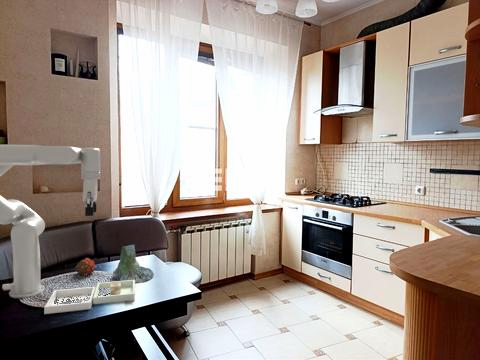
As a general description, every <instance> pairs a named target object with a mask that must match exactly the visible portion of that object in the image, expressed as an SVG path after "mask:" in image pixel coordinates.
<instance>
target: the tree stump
mask: <svg viewBox="0 0 480 360" xmlns="http://www.w3.org/2000/svg"><path fill="white" fill-rule="evenodd" d="M135 248H136V247H135V244H131V245H130V244H129V245H127V246H126V245H125V246H122V247H121V251H120V256H119V257H120V259H119V262H118V265H117V267H116V268H115V269H114V270H113V272H112V276H113V277H114V278H115V279H116V281H118V280H119V281H126V280H135V284H139V283H141V284H142V283H144V282H147V281H151V279H153V278H154V276H155V274H154V272H153V270H152V269H151V268H149V267H144V266H141V265H140V263H139V262H138V261H137V258H136V249H135Z"/></svg>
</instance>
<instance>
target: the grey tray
mask: <svg viewBox="0 0 480 360" xmlns="http://www.w3.org/2000/svg"><path fill="white" fill-rule="evenodd" d="M96 287H97V286H88V287H86V286H85V287H74V288H67V289H66V288H65V289H64V288H63V289H54V290H53V292H52V294H51V296H50V297H49V299H48V300H47V302H46V304H45V305H44V309H43V310H44V311H43V312H44V313H43V314H44V315H47V314H48V315H49V314H57V313H58V314H59V313H66V312H77V311H84V310H91V309H92V305H93V297H94V293H95V290H96ZM90 293H91V296H88V295H84V294H90ZM81 294H83V295H84V296H83V295H81ZM72 295H73V298H74V299H75V301H76V299H77V298H78V299H79V300H80V299H82V300H83V299H84V298H85V299H86V298H87V297H88V298H89V297H90V299H89V300H88V301H85V302H84V300H83V301H82V302H81V303H71V304H59V303H62V302H61V301H63V300H62V299H64V301H63V302H66V300H67V299H68V298H69V297H70V296H72ZM77 295H78V296H79V295H80V296H79V297H78V296H77ZM67 296H69V297H67ZM74 296H75V297H74ZM86 296H87V297H86ZM56 297H58V298H59V299H58V298H57V299H58V300H59V301H57V302H59V303H58V305H57V303H56V304H54V300H55V299H56ZM64 297H65V298H64ZM76 297H77V298H76ZM80 297H81V298H80ZM73 298H72V299H71V298H69V299H70V300H71V301H72V300H74V299H73ZM86 300H87V299H86ZM67 301H68V300H67ZM75 301H74V302H75ZM72 302H73V301H72ZM76 302H77V301H76Z"/></svg>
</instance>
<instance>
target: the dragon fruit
mask: <svg viewBox="0 0 480 360" xmlns="http://www.w3.org/2000/svg"><path fill="white" fill-rule="evenodd" d="M74 268H75V271H76V272H77V273H78V274H80V275H83V276H87V275H86V274H88V275H89V274H92V273H94V272H95V268H96V264H95V261H94V260H93V259H90V258H89V257H85V258H83V259H82V260H80V261H79V262H78V263H77V264H76V266H75V267H74ZM81 273H82V274H81Z"/></svg>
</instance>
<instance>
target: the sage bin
mask: <svg viewBox="0 0 480 360" xmlns="http://www.w3.org/2000/svg"><path fill="white" fill-rule="evenodd" d="M112 283H121V294H119V295H110V294H108V295H106V296H98V293H99V289H100V288H110V286H111V284H112ZM96 284H97V285H96V286H95V287H96V290H95V293H94V297H93V303H92V305H100V304H110V303H117V302H124V303H125V302H126V303H128V302H133V301H135V297H136V296H135V293H136V292H135V291H136V289H135V288H136V283H135V280H126V281H118V280H116V281H115V280H114V281H107V282H97V283H96ZM97 296H98V297H97Z"/></svg>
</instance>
